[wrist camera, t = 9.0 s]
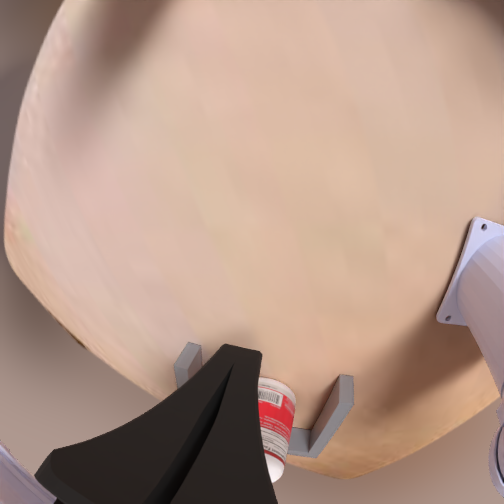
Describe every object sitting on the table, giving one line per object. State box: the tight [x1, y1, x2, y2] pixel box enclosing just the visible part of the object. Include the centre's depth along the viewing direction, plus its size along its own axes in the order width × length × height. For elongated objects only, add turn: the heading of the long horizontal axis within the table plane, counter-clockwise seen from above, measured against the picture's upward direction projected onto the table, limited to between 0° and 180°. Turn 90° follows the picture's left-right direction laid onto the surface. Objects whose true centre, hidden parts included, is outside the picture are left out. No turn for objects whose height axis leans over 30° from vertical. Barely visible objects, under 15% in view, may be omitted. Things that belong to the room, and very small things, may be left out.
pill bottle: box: [258, 377, 296, 483], centre depth 19 cm, size 6×6×11 cm
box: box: [174, 342, 354, 458], centre depth 23 cm, size 14×11×3 cm
